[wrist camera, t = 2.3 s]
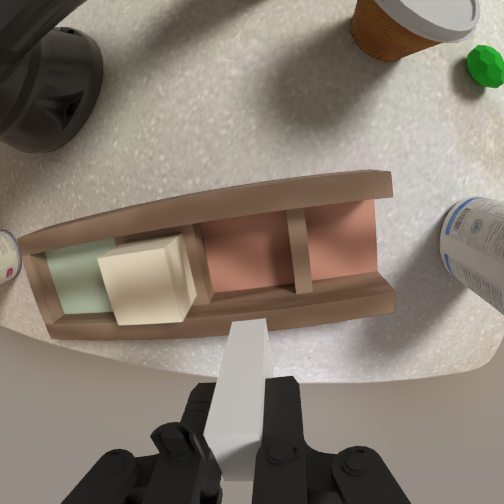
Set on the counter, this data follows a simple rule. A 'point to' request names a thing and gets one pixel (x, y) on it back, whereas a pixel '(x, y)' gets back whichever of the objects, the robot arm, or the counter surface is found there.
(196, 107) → the counter surface
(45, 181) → the counter surface
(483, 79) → the polyhedron
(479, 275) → the supplement tub
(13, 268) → the aerosol can
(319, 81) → the counter surface
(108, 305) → the box
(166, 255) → the birch block
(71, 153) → the counter surface
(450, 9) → the disposable coffee cup
